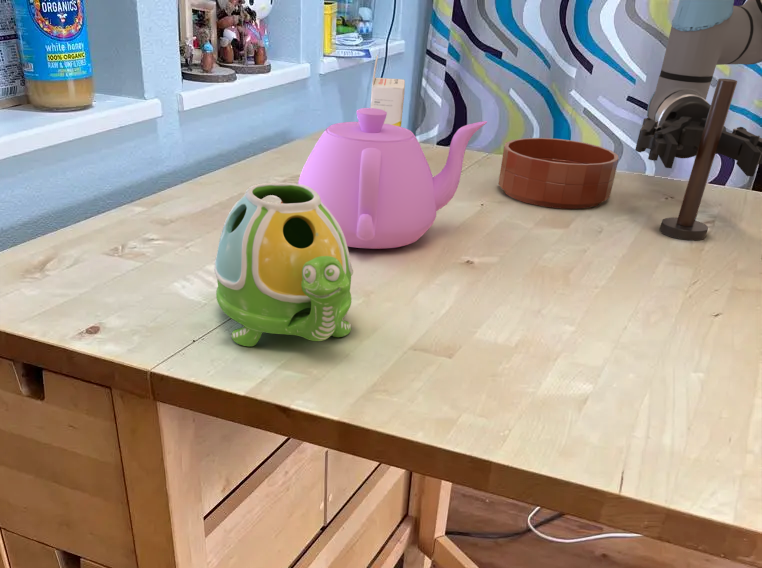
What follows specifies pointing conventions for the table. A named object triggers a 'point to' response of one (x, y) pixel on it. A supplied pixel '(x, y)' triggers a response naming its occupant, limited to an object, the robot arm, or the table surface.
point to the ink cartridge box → (388, 97)
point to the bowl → (557, 172)
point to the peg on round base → (701, 168)
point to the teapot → (381, 179)
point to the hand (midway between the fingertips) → (712, 160)
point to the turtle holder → (283, 266)
